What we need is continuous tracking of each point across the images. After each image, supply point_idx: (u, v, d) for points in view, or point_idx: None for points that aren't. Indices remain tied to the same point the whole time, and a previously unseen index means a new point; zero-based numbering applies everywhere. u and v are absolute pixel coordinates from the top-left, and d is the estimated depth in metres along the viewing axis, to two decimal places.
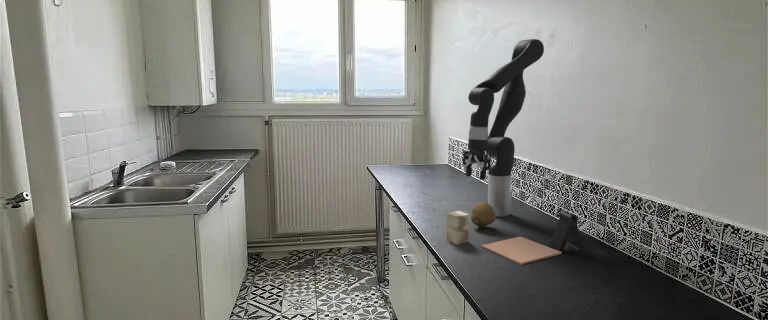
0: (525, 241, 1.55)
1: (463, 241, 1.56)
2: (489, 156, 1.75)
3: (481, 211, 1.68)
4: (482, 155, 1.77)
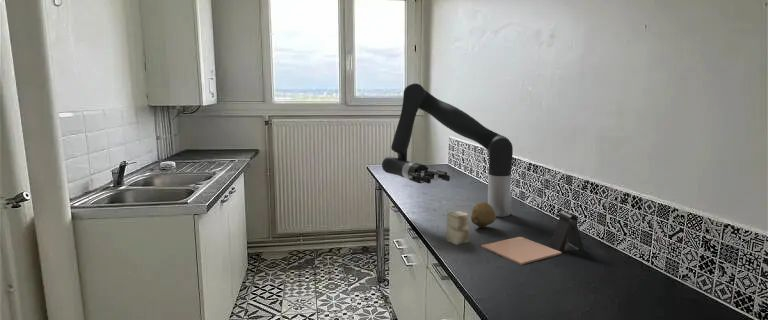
0: (525, 241, 1.55)
1: (463, 241, 1.56)
2: (409, 175, 1.69)
3: (481, 211, 1.68)
4: None
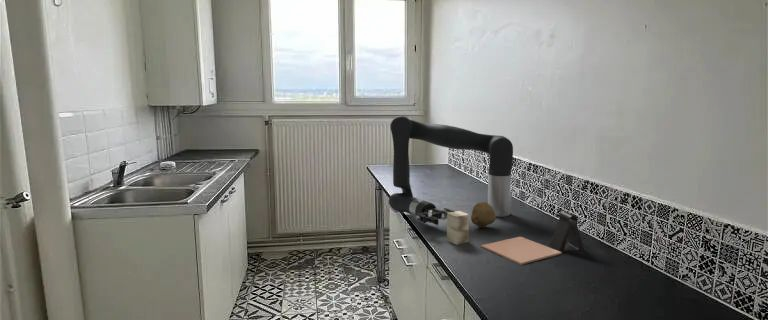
0: (525, 241, 1.55)
1: (463, 241, 1.56)
2: (417, 215, 1.67)
3: (481, 211, 1.68)
4: None
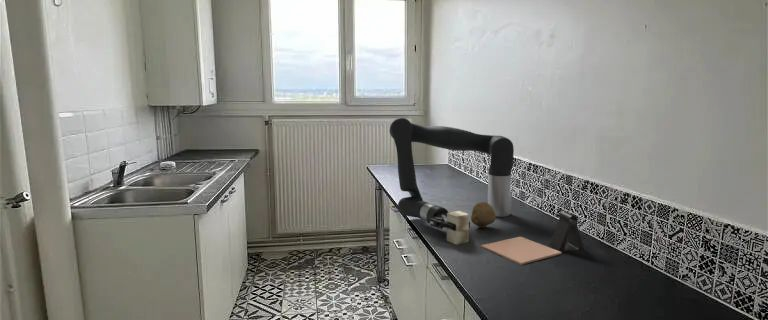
0: (525, 241, 1.55)
1: (463, 241, 1.56)
2: (430, 221, 1.60)
3: (481, 211, 1.68)
4: None
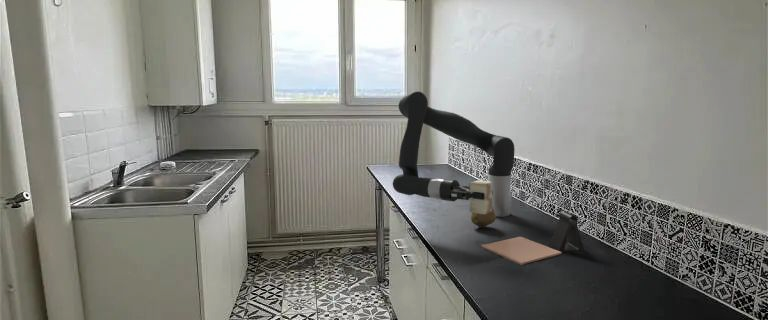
0: (525, 241, 1.55)
1: (488, 210, 1.49)
2: (453, 193, 1.49)
3: None
4: None
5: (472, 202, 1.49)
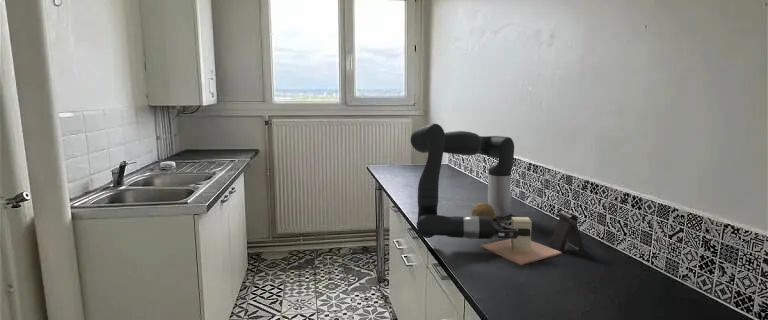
0: None
1: None
2: (500, 232, 1.41)
3: (481, 211, 1.68)
4: None
5: (516, 241, 1.45)
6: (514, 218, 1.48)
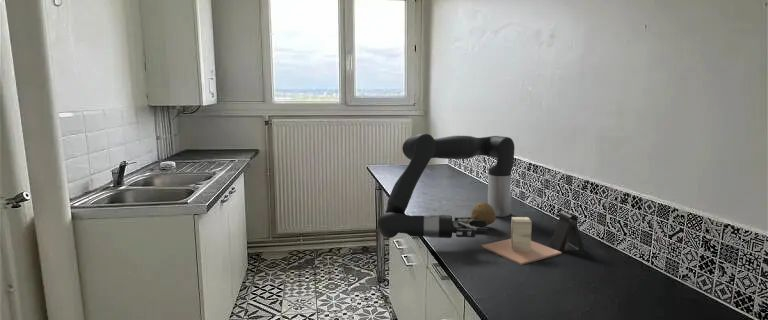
0: None
1: None
2: (458, 231, 1.43)
3: (481, 211, 1.68)
4: None
5: (516, 241, 1.45)
6: (514, 218, 1.48)
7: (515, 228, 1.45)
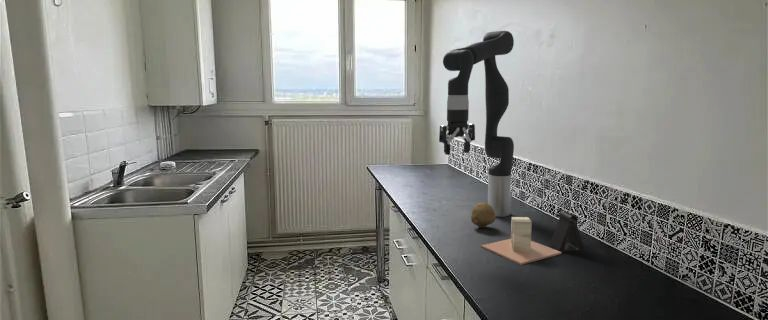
0: None
1: None
2: (442, 127, 1.55)
3: (481, 211, 1.68)
4: None
5: (516, 241, 1.45)
6: (514, 218, 1.48)
7: (515, 228, 1.45)
